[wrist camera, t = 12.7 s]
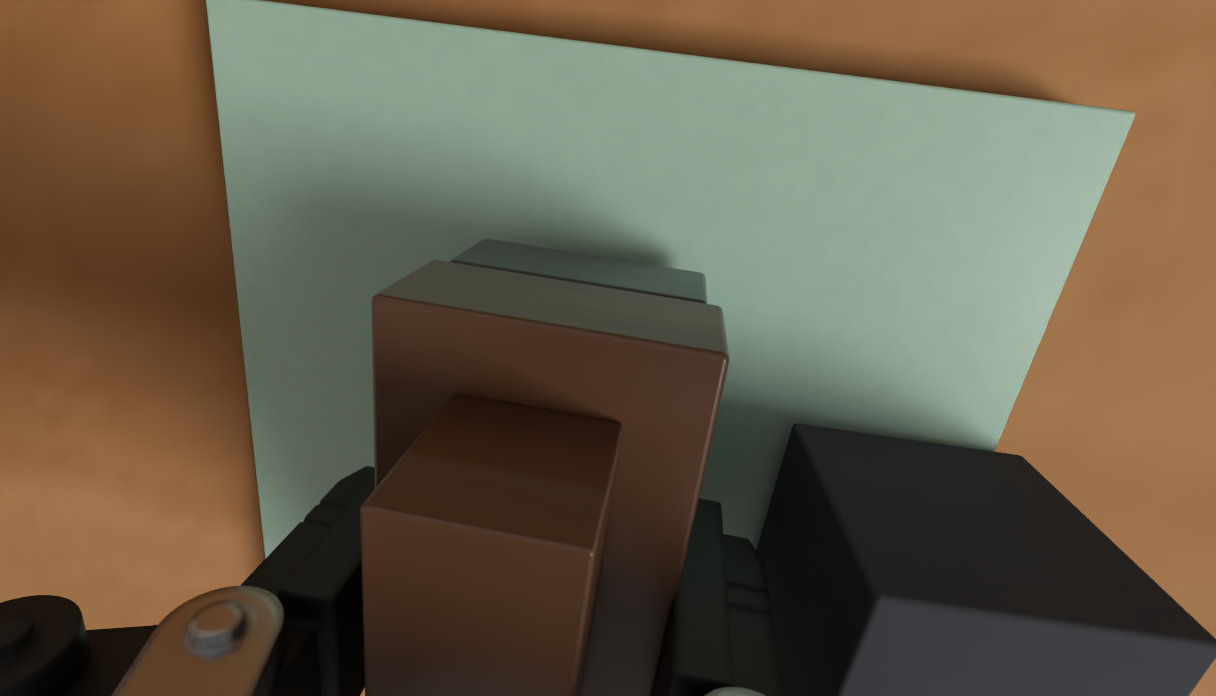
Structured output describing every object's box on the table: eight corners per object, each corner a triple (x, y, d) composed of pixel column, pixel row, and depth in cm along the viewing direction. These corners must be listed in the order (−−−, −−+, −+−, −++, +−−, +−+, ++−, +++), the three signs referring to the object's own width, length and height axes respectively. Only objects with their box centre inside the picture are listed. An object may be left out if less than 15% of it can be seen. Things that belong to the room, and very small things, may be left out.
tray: (302, 607, 16) (273, 644, 15) (254, 4, 11) (203, -8, 10) (847, 728, 15) (858, 777, 14) (1089, 111, 10) (1139, 111, 9)
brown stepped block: (470, 234, 10) (230, 375, 5) (719, 274, 10) (748, 469, 4) (452, 646, 13) (299, 989, 8) (635, 684, 13) (597, 1065, 8)
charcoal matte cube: (740, 598, 12) (786, 821, 8) (792, 420, 11) (876, 597, 7) (941, 626, 12) (1075, 860, 8) (1021, 453, 11) (1228, 647, 7)
